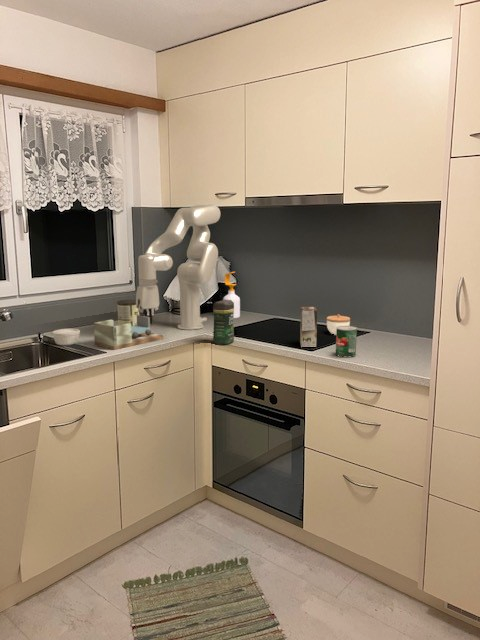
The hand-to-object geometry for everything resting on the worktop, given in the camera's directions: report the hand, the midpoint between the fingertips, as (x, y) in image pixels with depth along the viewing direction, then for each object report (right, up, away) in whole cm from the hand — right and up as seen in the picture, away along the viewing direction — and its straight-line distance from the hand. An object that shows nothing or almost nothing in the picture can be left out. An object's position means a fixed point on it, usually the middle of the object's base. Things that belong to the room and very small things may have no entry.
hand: (148, 323), depth 240 cm
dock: (-7, -8, -7) cm, 13 cm away
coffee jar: (+34, -8, -9) cm, 36 cm away
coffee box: (+70, -9, -13) cm, 72 cm away
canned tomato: (+83, -12, -29) cm, 88 cm away
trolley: (-5, -5, -5) cm, 8 cm away
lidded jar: (+86, -5, +8) cm, 87 cm away
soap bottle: (+36, +3, +49) cm, 61 cm away
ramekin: (-34, -8, -8) cm, 36 cm away
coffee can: (-12, -4, +16) cm, 20 cm away
